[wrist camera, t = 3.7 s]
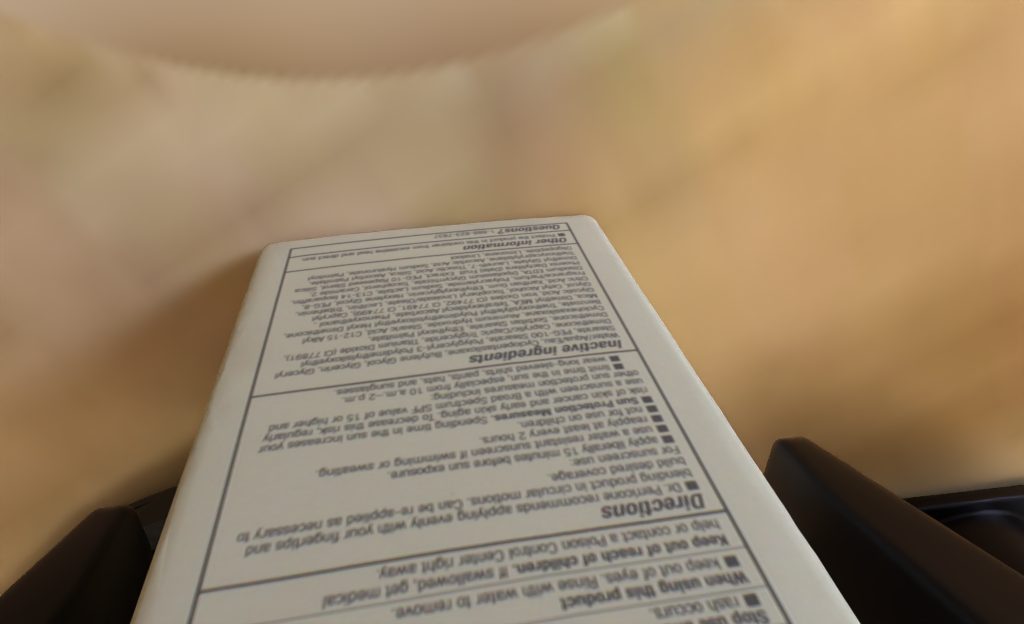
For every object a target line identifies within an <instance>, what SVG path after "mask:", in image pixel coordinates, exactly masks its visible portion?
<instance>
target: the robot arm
mask: <svg viewBox="0 0 1024 624" xmlns="http://www.w3.org/2000/svg"><path fill="white" fill-rule="evenodd" d="M764 477H765V479H766V480H767V482H768V483H769V485H770V486H771V488H772V489H773V491H774V492H775V494H776V495H777V497H778V498H779V500H780V501H781V503H782V504H783V506H784V507H785V509H786V510H787V512H788V513H789V515H790V517H791V518H792V520H793V521H794V523H795V525H796V526H797V528H798V530H799V531H800V532H801V534H802V535H803V537H804V538H805V539H806V541H807V542H808V544H809V545H810V547H811V548H812V549H813V551H814V552H815V554H816V555H817V557H818V558H819V560H820V561H821V563H822V565H823V566H824V568H825V569H826V571H827V572H828V574H829V576H830V577H831V579H832V580H833V582H834V584H835V585H836V587H837V588H838V590H839V591H840V593H841V595H842V596H843V598H844V599H845V601H846V602H847V604H848V605H849V607H850V609H851V610H852V612H853V613H854V615H855V616H856V618H857V619H858V621H859V623H860V624H1024V485H1018V486H1009V487H1000V488H992V489H983V490H974V491H966V492H957V493H948V494H940V495H931V496H922V497H914V498H905V499H901V498H900V497H898V496H897V495H895V494H894V493H892V492H890V491H889V490H887V489H886V488H884V487H883V486H881V485H879V484H878V483H876V482H875V481H873V480H872V479H870V478H868V477H867V476H865V475H864V474H862V473H861V472H859V471H857V470H856V469H854V468H853V467H851V466H849V465H848V464H846V463H845V462H843V461H842V460H840V459H838V458H837V457H835V456H834V455H832V454H831V453H829V452H827V451H826V450H824V449H823V448H821V447H820V446H818V445H816V444H815V443H813V442H812V441H810V440H808V439H806V438H804V437H794V438H784V439H778V440H776V441H775V443H774V444H773V446H772V449H771V452H770V456H769V459H768V462H767V466H766V469H765V472H764ZM151 562H152V550H151V546H150V543H149V540H148V538H147V536H146V533H145V531H144V529H143V527H142V524H141V522H140V520H139V517H138V515H137V513H136V511H135V509H133V508H132V507H131V506H127V505H124V506H114V507H105V508H99V509H97V510H95V511H93V512H92V513H91V514H89V515H88V516H87V517H86V518H85V519H84V520H83V521H82V522H81V523H80V524H79V525H77V526H76V527H75V528H74V529H73V530H72V531H71V532H70V533H69V534H68V535H67V536H65V537H64V538H63V539H62V540H61V541H60V542H59V543H58V544H57V545H56V546H55V547H53V548H52V549H51V550H50V551H49V552H48V553H47V554H46V555H45V556H44V557H43V558H41V559H40V560H39V561H38V562H37V563H36V564H35V565H34V566H33V567H32V568H31V569H29V570H28V571H27V572H26V573H25V574H24V575H23V576H22V577H21V578H20V579H19V580H17V581H16V582H15V583H14V584H13V585H12V586H11V587H10V588H9V589H8V590H7V591H5V592H4V593H3V594H2V595H1V596H0V624H130V623H131V620H132V617H133V614H134V611H135V608H136V605H137V602H138V600H139V597H140V594H141V591H142V588H143V585H144V582H145V579H146V576H147V573H148V571H149V568H150V565H151Z"/></svg>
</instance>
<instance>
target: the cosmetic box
mask: <svg viewBox="0 0 1024 624" xmlns="http://www.w3.org/2000/svg"><path fill="white" fill-rule="evenodd" d="M130 624H860V623H859V621H858V619H857V618H856V616H855V615H854V613H853V612H852V610H851V609H850V607H849V605H848V604H847V602H846V601H845V599H844V598H843V596H842V595H841V593H840V591H839V590H838V588H837V587H836V585H835V584H834V582H833V580H832V579H831V577H830V576H829V574H828V572H827V571H826V569H825V568H824V566H823V565H822V563H821V561H820V560H819V558H818V557H817V555H816V554H815V552H814V551H813V549H812V548H811V547H810V545H809V544H808V542H807V541H806V539H805V538H804V537H803V535H802V534H801V532H800V531H799V530H798V528H797V526H796V525H795V523H794V521H793V520H792V518H791V517H790V515H789V513H788V512H787V510H786V509H785V507H784V506H783V504H782V503H781V501H780V500H779V498H778V497H777V495H776V494H775V492H774V491H773V489H772V488H771V486H770V485H769V483H768V482H767V480H766V479H765V477H764V476H763V474H762V473H761V471H760V470H759V468H758V467H757V465H756V464H755V462H754V461H753V459H752V458H751V456H750V455H749V453H748V452H747V450H746V449H745V447H744V445H743V444H742V442H741V441H740V439H739V438H738V436H737V435H736V433H735V432H734V430H733V429H732V427H731V426H730V424H729V423H728V421H727V419H726V418H725V416H724V415H723V413H722V411H721V410H720V408H719V407H718V405H717V404H716V402H715V401H714V399H713V398H712V397H711V395H710V394H709V392H708V391H707V389H706V388H705V386H704V385H703V383H702V382H701V380H700V379H699V377H698V376H697V374H696V373H695V371H694V370H693V368H692V367H691V365H690V364H689V362H688V360H687V359H686V357H685V356H684V354H683V353H682V351H681V350H680V348H679V346H678V345H677V343H676V341H675V340H674V338H673V337H672V336H671V334H670V333H669V331H668V330H667V328H666V326H665V325H664V323H663V322H662V320H661V319H660V317H659V316H658V314H657V313H656V311H655V310H654V308H653V307H652V305H651V304H650V302H649V301H648V299H647V298H646V296H645V295H644V293H643V292H642V290H641V289H640V287H639V286H638V284H637V283H636V282H635V280H634V279H633V277H632V276H631V274H630V272H629V271H628V269H627V268H626V266H625V265H624V263H623V262H622V260H621V259H620V257H619V256H618V254H617V253H616V251H615V249H614V248H613V246H612V245H611V243H610V242H609V240H608V239H607V237H606V236H605V234H604V233H603V231H602V230H601V228H600V227H599V225H598V223H597V222H596V221H595V219H593V218H592V217H590V216H587V215H574V216H557V217H547V218H529V219H514V220H502V221H490V222H477V223H467V224H457V225H445V226H434V227H423V228H411V229H399V230H388V231H377V232H368V233H355V234H345V235H337V236H329V237H321V238H313V239H304V240H296V241H287V242H279V243H272V244H268V245H266V246H265V247H264V248H263V250H262V251H261V253H260V255H259V258H258V261H257V264H256V267H255V270H254V272H253V275H252V277H251V280H250V283H249V286H248V289H247V291H246V294H245V297H244V300H243V303H242V306H241V309H240V312H239V315H238V318H237V320H236V323H235V326H234V329H233V332H232V335H231V338H230V341H229V344H228V347H227V350H226V353H225V356H224V359H223V362H222V364H221V367H220V370H219V373H218V376H217V379H216V381H215V384H214V387H213V390H212V393H211V396H210V399H209V401H208V404H207V407H206V409H205V412H204V415H203V418H202V420H201V423H200V426H199V429H198V432H197V434H196V437H195V440H194V443H193V446H192V449H191V451H190V454H189V457H188V460H187V462H186V465H185V468H184V471H183V474H182V476H181V479H180V482H179V485H178V488H177V490H176V493H175V496H174V499H173V502H172V505H171V508H170V511H169V513H168V516H167V519H166V522H165V525H164V528H163V531H162V533H161V536H160V539H159V542H158V545H157V548H156V551H155V553H154V556H153V559H152V562H151V565H150V568H149V571H148V573H147V576H146V579H145V582H144V585H143V588H142V591H141V594H140V597H139V600H138V602H137V605H136V608H135V611H134V614H133V617H132V620H131V623H130Z"/></svg>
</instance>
